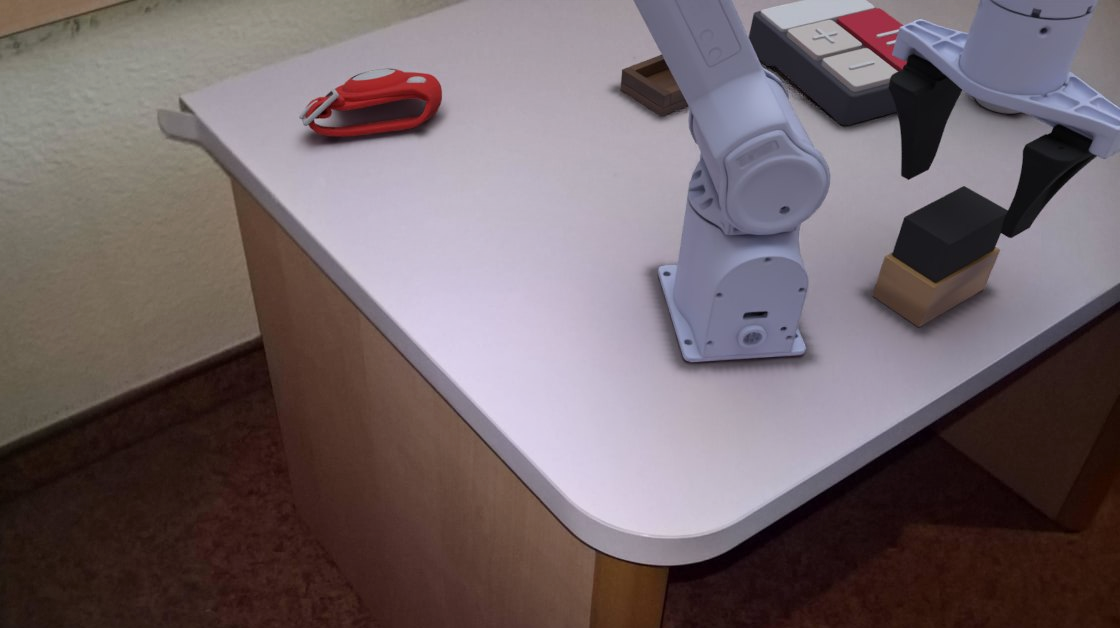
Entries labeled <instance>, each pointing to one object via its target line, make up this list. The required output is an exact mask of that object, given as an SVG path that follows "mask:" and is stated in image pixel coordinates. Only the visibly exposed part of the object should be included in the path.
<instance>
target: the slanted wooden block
mask: <svg viewBox="0 0 1120 628" xmlns="http://www.w3.org/2000/svg"><path fill="white" fill-rule="evenodd" d="M1000 252H1001V249H1000V248H999V247H997V246H995V249H994V250H993V251H991V252H989V253H988V254H986V255H984V256H982V257H981V258H979V259H977V260H975V261H974V262H972V263H970V264H968V265H967V266H965V267H963V268H961V269H960V270H958V271H956V272H954V273H953V274H951V275H949V276H947V277H946V278H944V279H942V280H940V281H939V282H937V283H934V282H933V281H931V280H930V279H928V278H927V277H925V276H923V275H922V274H920V273H919V272H917V271H916V270H914V269H913V268H911V267H909V266H908V265H906V264H905V263H903V262H902V261H900V260H898V259H897V258H895V257H894V256H892V253H893V251H892V252H890V253H887V255H885V256H884V257H883V261H882V264H881V267H880V269H879V270H880V271H879V272H878V276H877V278H876V279H877V280H876V282H875V285H874V289H873V290H872V291H873V292H872V294H871V295H872V297H874V298H875V299H876V300H878V301H879V302H881V303H882V304H883V305H885V306H887V307H888V308H889V309H891V310H892V311H894V312H896V313H897V314H898V315H899V316H901V317H903V318H905V319H906V320H907V321H909V322H910V323H911V324H913V325H915V326H916V327H918V328H920V327H922V326H924V325H926V324H927V323H929V322H931V321H933V320H934V319H936V318H937V317H939V316H941V315H942V314H944V313H946V312H948V311H949V310H951V309H952V308H953V309H954V307H956V306H958V305H959V304H961V303H964V302H965V301H967V300H968V299H969V298H972V297H973V296H975V295H976V294H978V293H980V292H982V291H983V290H985V287H986V285H987V282H988V281H989V278H990V276H991V273H992V271H993V269H994V266H995V264H996V261H997V259H998V257H999V254H1000Z"/></svg>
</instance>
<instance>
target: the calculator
mask: <svg viewBox="0 0 1120 628" xmlns="http://www.w3.org/2000/svg"><path fill="white" fill-rule="evenodd" d="M904 25H905V24H902V23H901V22H900V21H899V20H897V19H896V18H895V17H893V16H892V15H891V14H889V13H888V12H886V11H885V10H883V8H879V7H875V5H874V4H872V3H871V2H869V1H868V0H798V1H793V2H790V3H784V4H782V5H781V4H780V5H776V6H771V7H768V8H764V9H761V10H758V11H755V12H754V13H753V15H752V20H751V24H750V28H749V29H750V30H749V34H748V37H749V39H750V42H751V44H752V46H753V48H754V51H755V53H756V55H757V57H758V59H759V61H761V62H762V63H763V64H764V65H765V66H766V67H775V68H777V70H778V71H780V72H781V73H782V74H783V75H785V76H786V77H787V78H788V79H789V80H790V81H791V82H792V83H793V84H795V85H796V86H797V87H798V88H799V89H800V90H801V91H802V92H804V93H805V94H806V95H807V96H808V97H810V98H811V99H812V100H813V102H815V103H816V104H817V105H818V106H819V107H820V108H822V109H823V110H824V111H825V112H826V113H827V114H828V115H830V116H831V117H832V118H833V119H834V120H835V121H837V123H839V124H840V125H842V126H850V125H854V124H857V123H861V122H866V121H869V120H872V119H876V118H879V117H883V116H884V117H885V116H886V115H891V114H895V113H897V110H896V106H895V103H894V100H893V97H892V95H891V92H890V90H889V88H888V87H889V82H890V78H891V76H892V75H893V74H894V73H896V72H898V71H901V70H903V66H904V65H906V63H907V61H903V60H901V59H898V58H896V57H894V56H893V55H892V53H893V49H894V46H895V42H896V39H897V35H898V31H899V28H900V27H902V26H904Z"/></svg>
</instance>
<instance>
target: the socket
mask: <svg viewBox="0 0 1120 628" xmlns="http://www.w3.org/2000/svg"><path fill="white" fill-rule="evenodd" d="M619 87H620V88H619V89H620V91H622V92H623V93H625V94H626V95H628V96H629V97H631V98H633V99H635V100H636V101H637V102H639V103H640V104H642V105H643V106H645V107H647V108H648V109H650V110H651V111H653V112H654V113H655V114H658V115H659V116H660V117H664V116H667V115H669V114H671V113H674V112H676V111H678V110H680V109H684V108H686V107H689V106H688V104H687V102H686V100H685V98H684V96H683V94H682V92H681V90H680V88H679V86H678V84H677V82H676V81H675V79H674V77H673V75H672V73H671V71H670V69H669V67H668V65H667V63H666V62H665V60H664V58H663V56H662V54H659V55H657V56H654V57H651V58H649V59H646V60H643V61H641V62H638V63H635V64H633V65H630V66H628V67H625V68H622V69H621V77H620V86H619Z"/></svg>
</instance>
